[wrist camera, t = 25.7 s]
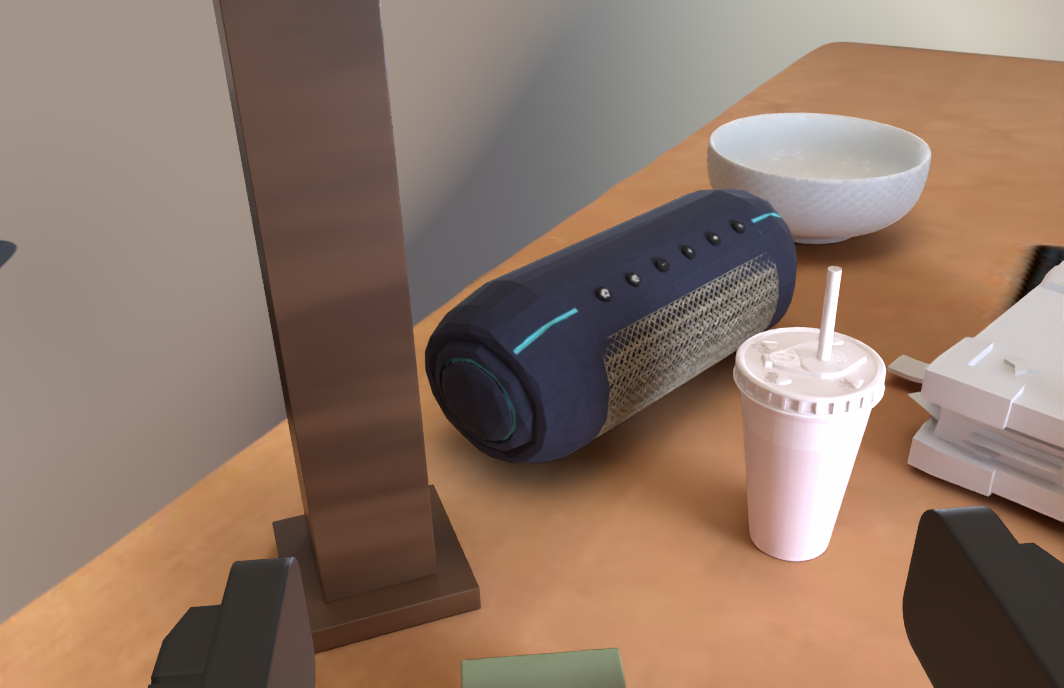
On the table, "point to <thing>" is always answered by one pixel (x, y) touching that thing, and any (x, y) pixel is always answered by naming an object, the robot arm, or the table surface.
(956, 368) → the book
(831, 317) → the smoothie
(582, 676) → the green wooden mallet
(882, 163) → the cereal bowl
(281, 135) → the stand
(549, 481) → the table surface
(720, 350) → the portable speaker
